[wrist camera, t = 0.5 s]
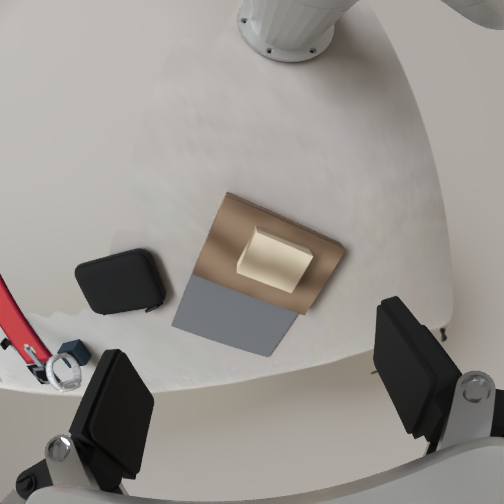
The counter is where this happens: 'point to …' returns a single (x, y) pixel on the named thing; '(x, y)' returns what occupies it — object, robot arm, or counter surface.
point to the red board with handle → (22, 335)
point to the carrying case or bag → (121, 282)
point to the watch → (69, 364)
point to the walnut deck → (235, 239)
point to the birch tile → (273, 260)
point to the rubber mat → (231, 317)
